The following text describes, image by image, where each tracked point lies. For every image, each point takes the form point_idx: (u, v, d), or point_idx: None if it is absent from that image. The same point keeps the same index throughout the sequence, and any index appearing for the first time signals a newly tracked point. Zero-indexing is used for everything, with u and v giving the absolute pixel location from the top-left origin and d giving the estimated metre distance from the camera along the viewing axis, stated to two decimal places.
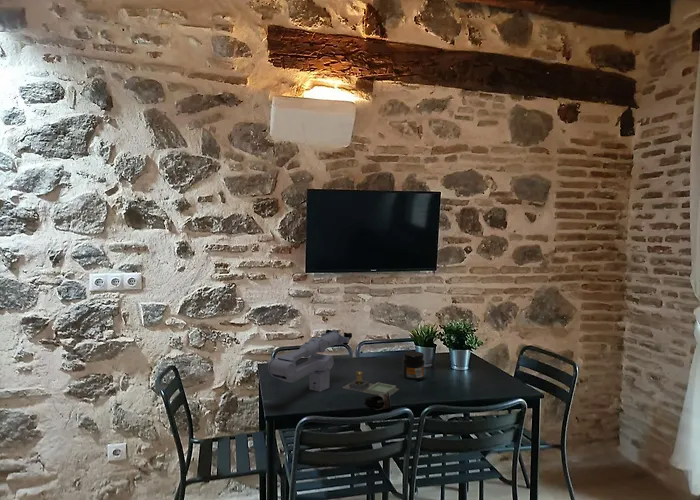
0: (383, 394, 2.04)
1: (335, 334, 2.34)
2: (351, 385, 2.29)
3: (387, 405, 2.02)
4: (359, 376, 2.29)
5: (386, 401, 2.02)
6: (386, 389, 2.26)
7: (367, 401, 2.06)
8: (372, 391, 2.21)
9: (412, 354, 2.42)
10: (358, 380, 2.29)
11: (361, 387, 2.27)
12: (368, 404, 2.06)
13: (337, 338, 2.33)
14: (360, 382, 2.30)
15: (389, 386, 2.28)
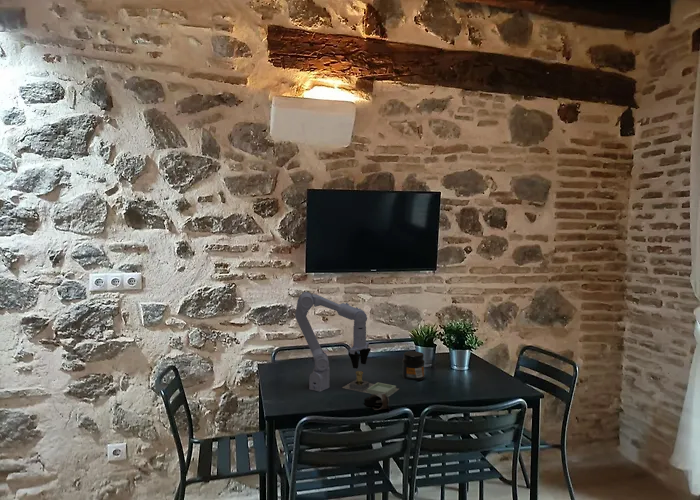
0: (382, 394, 2.03)
1: (362, 344, 2.27)
2: (351, 385, 2.29)
3: (385, 405, 2.02)
4: (359, 376, 2.29)
5: (384, 401, 2.02)
6: (386, 389, 2.26)
7: (366, 401, 2.06)
8: (372, 391, 2.21)
9: (412, 354, 2.42)
10: (358, 380, 2.29)
11: (361, 387, 2.27)
12: (367, 404, 2.06)
13: (357, 343, 2.27)
14: (360, 382, 2.30)
15: (389, 386, 2.28)
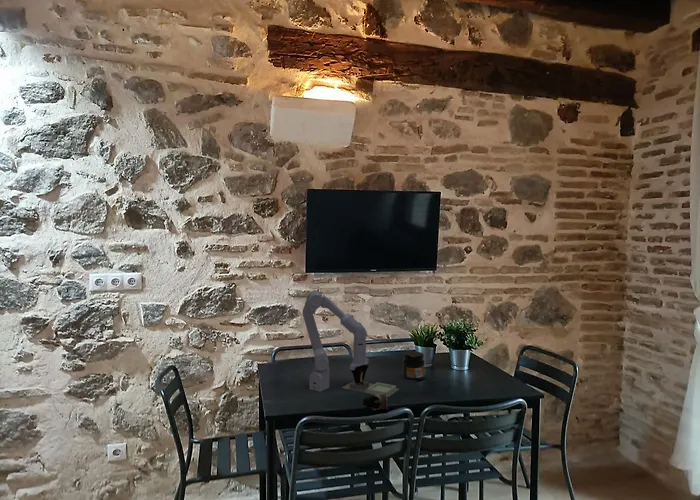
0: (380, 394, 2.03)
1: (362, 360, 2.27)
2: (351, 385, 2.29)
3: (383, 406, 2.01)
4: None
5: (382, 402, 2.01)
6: (386, 389, 2.26)
7: (364, 401, 2.06)
8: (372, 391, 2.21)
9: (412, 354, 2.42)
10: None
11: (361, 387, 2.27)
12: (365, 404, 2.06)
13: (357, 359, 2.27)
14: (360, 382, 2.30)
15: (389, 386, 2.28)
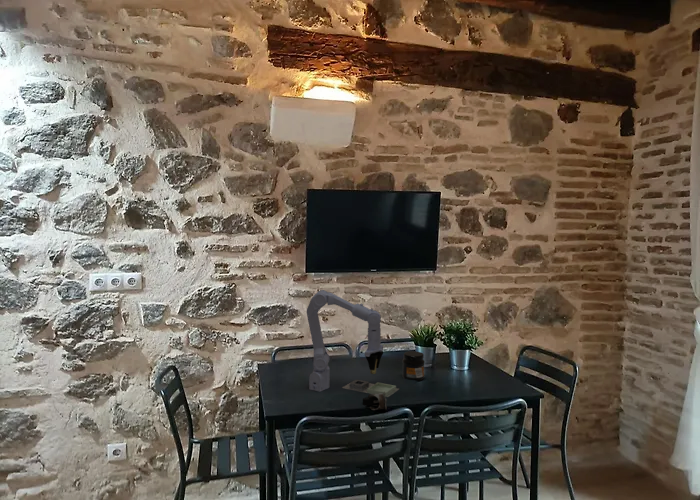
0: (379, 394, 2.03)
1: (377, 346, 2.23)
2: (351, 385, 2.29)
3: (382, 406, 2.01)
4: None
5: (381, 402, 2.01)
6: (386, 389, 2.26)
7: (364, 401, 2.07)
8: (372, 391, 2.21)
9: (412, 354, 2.42)
10: None
11: (361, 387, 2.27)
12: (364, 404, 2.06)
13: (372, 346, 2.23)
14: None
15: (389, 386, 2.28)
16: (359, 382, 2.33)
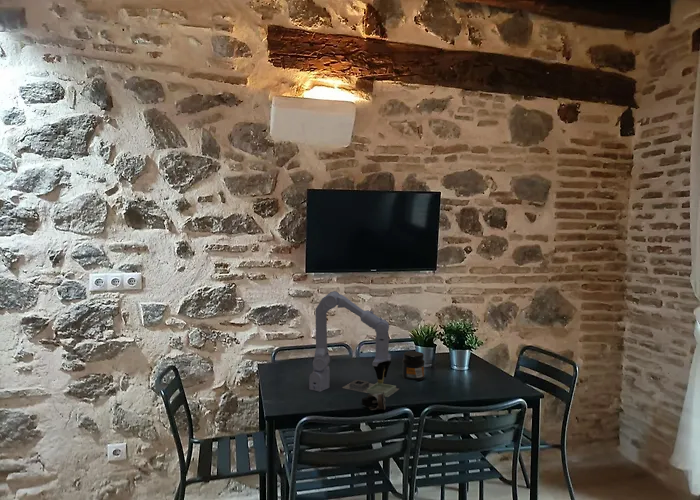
0: (378, 394, 2.03)
1: (385, 356, 2.21)
2: (351, 385, 2.29)
3: (381, 406, 2.01)
4: None
5: (380, 402, 2.01)
6: (386, 389, 2.26)
7: (363, 401, 2.07)
8: (372, 391, 2.21)
9: (412, 354, 2.42)
10: None
11: (361, 387, 2.27)
12: (363, 404, 2.06)
13: (380, 355, 2.21)
14: (382, 379, 2.24)
15: (389, 386, 2.28)
16: (359, 382, 2.33)
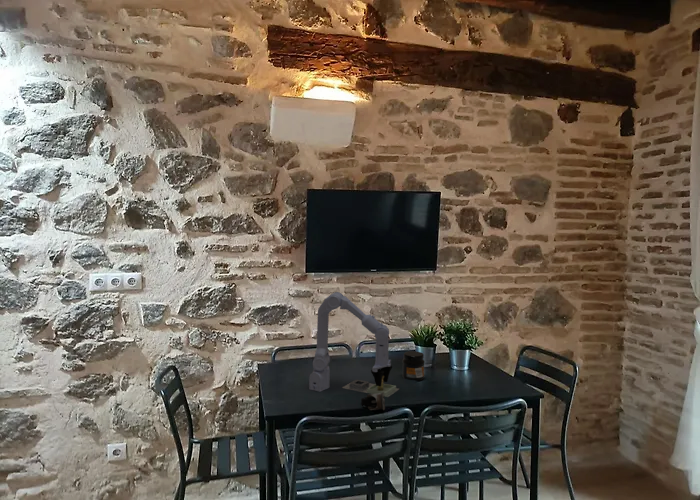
0: (377, 395, 2.03)
1: (385, 362, 2.21)
2: (351, 385, 2.29)
3: (380, 406, 2.01)
4: None
5: (379, 402, 2.01)
6: (386, 389, 2.26)
7: (362, 401, 2.07)
8: (372, 391, 2.21)
9: (412, 354, 2.42)
10: None
11: (361, 387, 2.27)
12: (363, 404, 2.06)
13: (380, 361, 2.21)
14: (381, 386, 2.24)
15: (389, 386, 2.28)
16: (359, 382, 2.33)
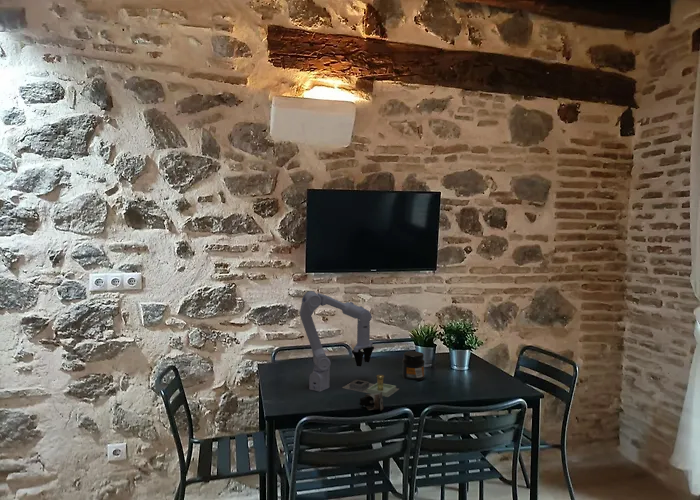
0: (375, 395, 2.03)
1: (366, 342, 2.30)
2: (351, 385, 2.29)
3: (377, 406, 2.01)
4: (380, 380, 2.24)
5: (376, 402, 2.01)
6: (386, 389, 2.26)
7: (360, 400, 2.07)
8: (372, 391, 2.21)
9: (412, 354, 2.42)
10: (379, 384, 2.24)
11: (361, 387, 2.27)
12: (361, 403, 2.06)
13: (361, 342, 2.30)
14: (381, 386, 2.24)
15: (389, 386, 2.28)
16: (359, 382, 2.33)
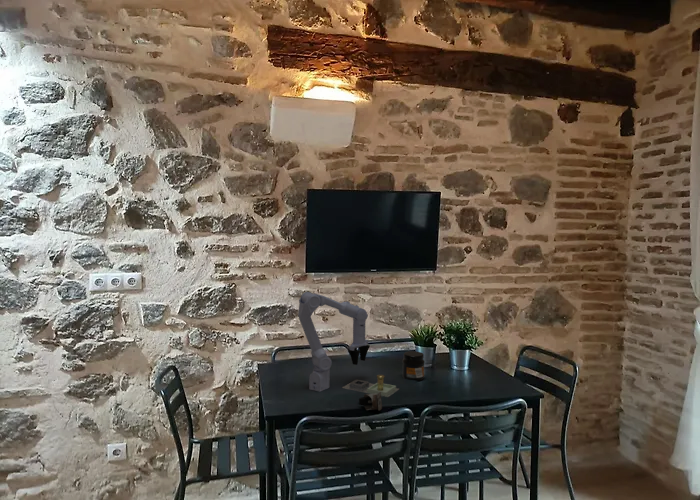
0: (373, 395, 2.03)
1: (361, 341, 2.33)
2: (351, 385, 2.29)
3: (375, 406, 2.01)
4: (380, 380, 2.24)
5: (374, 402, 2.01)
6: (386, 389, 2.26)
7: (359, 400, 2.07)
8: (372, 391, 2.21)
9: (412, 354, 2.42)
10: (379, 384, 2.24)
11: (361, 387, 2.27)
12: (360, 403, 2.07)
13: (357, 340, 2.33)
14: (381, 386, 2.24)
15: (389, 386, 2.28)
16: (359, 382, 2.33)
